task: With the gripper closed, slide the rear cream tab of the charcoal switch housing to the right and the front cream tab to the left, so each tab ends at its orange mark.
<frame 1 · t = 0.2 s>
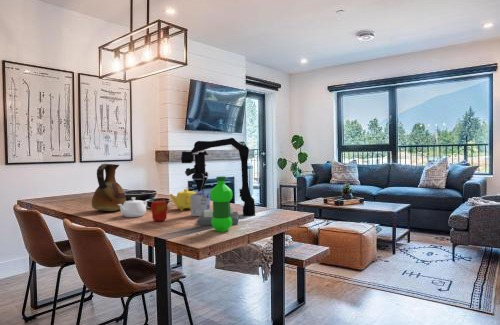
hand: (200, 190, 201), 14 cm above the table, tool pointing down, fingers open, 9 cm apart
red rounded piece: (159, 221, 188), on the table
ink cartridge box: (200, 215, 202), on the table
teapot 2: (186, 209, 223), on the table
switch housing: (219, 221, 184), on the table
teapot: (133, 216, 203), on the table
plastic bottle: (221, 230, 164), on the table
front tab: (208, 214, 180), point 5 cm above the table, slide at 10.0 cm
ceramic pitcher: (109, 211, 222), on the table
rear tab: (228, 211, 189), point 5 cm above the table, slide at 0.0 cm
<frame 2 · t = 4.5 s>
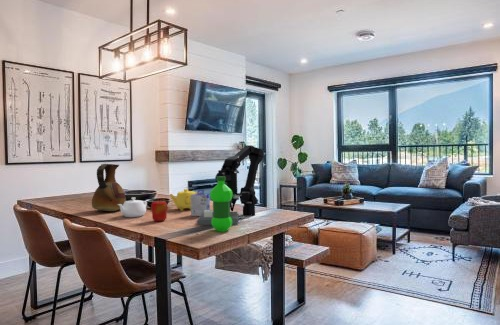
hand: (232, 211, 189), 5 cm above the table, tool pointing down, fingers closed
rear tab: (225, 211, 189), point 5 cm above the table, slide at 1.6 cm, touching gripper
everything else where it was.
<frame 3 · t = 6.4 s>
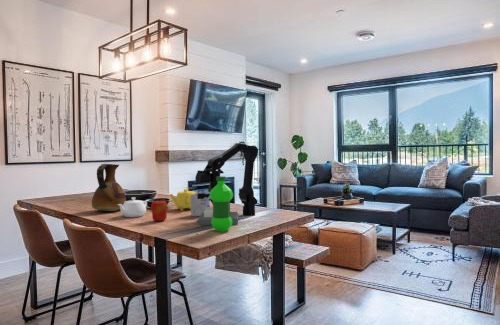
hand: (215, 211, 188), 5 cm above the table, tool pointing down, fingers closed
rear tab: (209, 211, 189), point 5 cm above the table, slide at 10.1 cm, touching gripper
everything else where it was.
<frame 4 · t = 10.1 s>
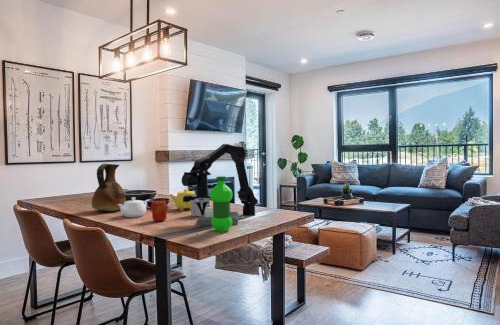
hand: (202, 215, 180), 4 cm above the table, tool pointing down, fingers closed
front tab: (209, 214, 180), point 5 cm above the table, slide at 9.5 cm, touching gripper
rear tab: (210, 211, 189), point 5 cm above the table, slide at 10.1 cm
everything else where it was.
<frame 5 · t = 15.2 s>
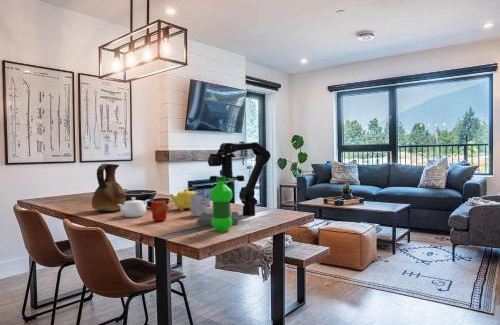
hand: (227, 194, 194), 13 cm above the table, tool pointing down, fingers closed
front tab: (227, 214, 180), point 5 cm above the table, slide at 0.1 cm
everything else where it was.
at the end: rear tab slide at 10.1 cm; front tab slide at 0.1 cm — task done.
